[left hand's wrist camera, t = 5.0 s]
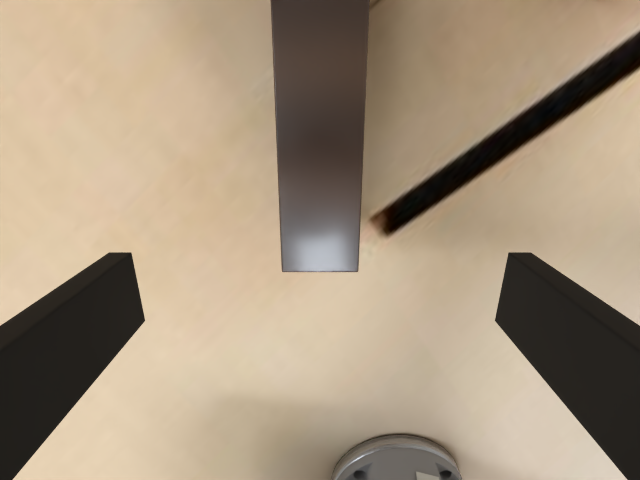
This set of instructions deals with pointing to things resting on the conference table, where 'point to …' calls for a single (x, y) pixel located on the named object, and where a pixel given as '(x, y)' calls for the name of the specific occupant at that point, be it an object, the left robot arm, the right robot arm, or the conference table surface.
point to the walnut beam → (320, 130)
